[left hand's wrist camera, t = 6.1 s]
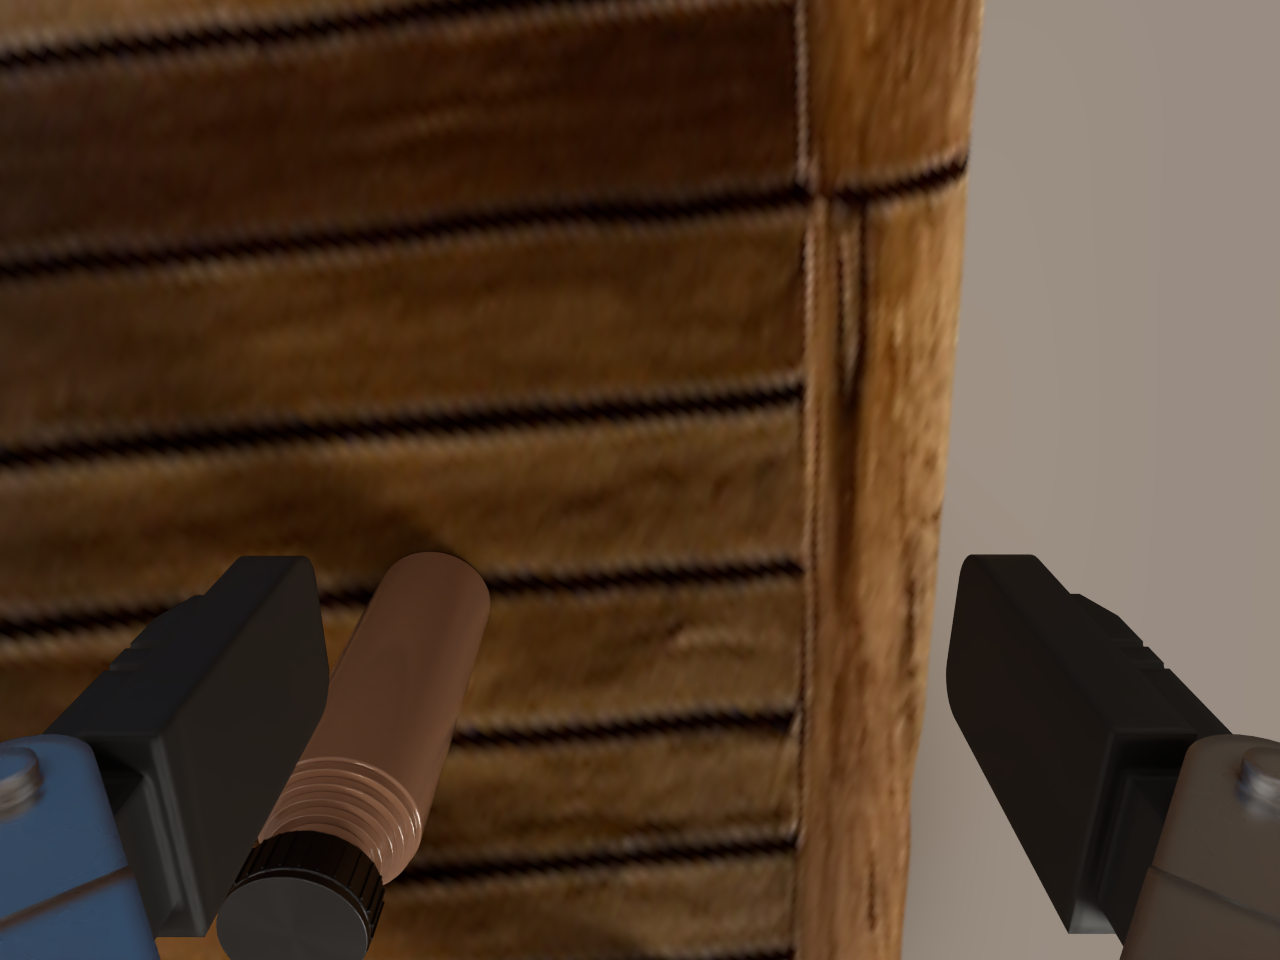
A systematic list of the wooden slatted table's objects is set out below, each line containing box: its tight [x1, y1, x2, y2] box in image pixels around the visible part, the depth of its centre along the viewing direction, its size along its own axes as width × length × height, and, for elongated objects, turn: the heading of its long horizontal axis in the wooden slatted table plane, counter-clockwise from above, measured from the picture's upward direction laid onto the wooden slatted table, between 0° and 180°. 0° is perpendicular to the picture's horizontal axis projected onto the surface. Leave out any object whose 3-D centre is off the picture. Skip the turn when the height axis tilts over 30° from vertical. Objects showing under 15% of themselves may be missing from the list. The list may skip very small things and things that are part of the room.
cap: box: [216, 830, 385, 960], centre depth 27 cm, size 4×4×2 cm
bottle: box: [258, 552, 491, 885], centre depth 35 cm, size 6×6×19 cm
